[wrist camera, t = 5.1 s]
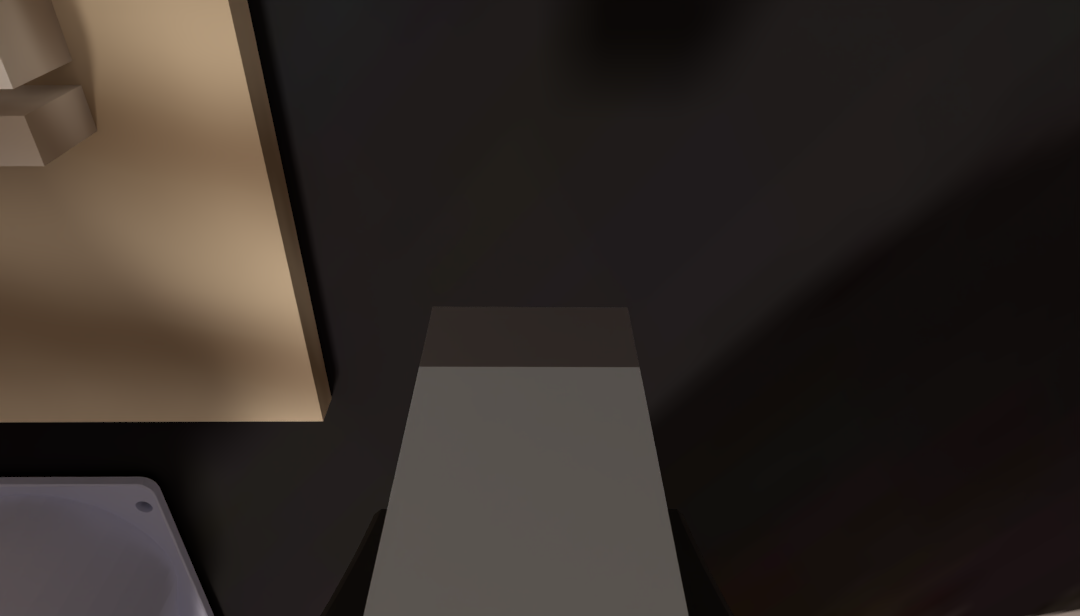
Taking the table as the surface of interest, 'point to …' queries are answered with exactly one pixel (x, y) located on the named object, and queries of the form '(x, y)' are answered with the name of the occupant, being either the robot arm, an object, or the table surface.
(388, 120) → the table surface
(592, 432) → the peg
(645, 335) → the table surface
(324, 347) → the table surface
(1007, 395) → the table surface
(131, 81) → the birch board
